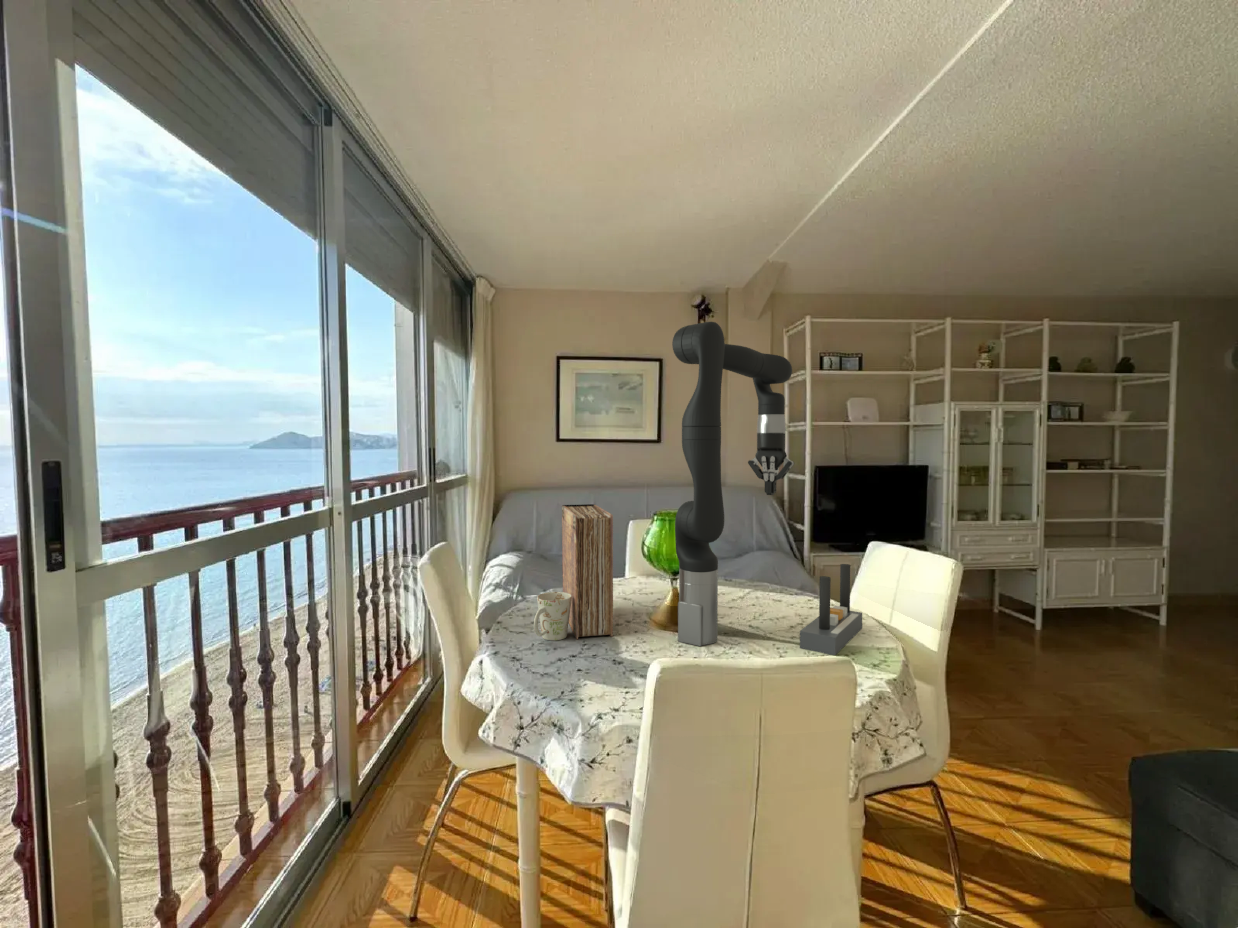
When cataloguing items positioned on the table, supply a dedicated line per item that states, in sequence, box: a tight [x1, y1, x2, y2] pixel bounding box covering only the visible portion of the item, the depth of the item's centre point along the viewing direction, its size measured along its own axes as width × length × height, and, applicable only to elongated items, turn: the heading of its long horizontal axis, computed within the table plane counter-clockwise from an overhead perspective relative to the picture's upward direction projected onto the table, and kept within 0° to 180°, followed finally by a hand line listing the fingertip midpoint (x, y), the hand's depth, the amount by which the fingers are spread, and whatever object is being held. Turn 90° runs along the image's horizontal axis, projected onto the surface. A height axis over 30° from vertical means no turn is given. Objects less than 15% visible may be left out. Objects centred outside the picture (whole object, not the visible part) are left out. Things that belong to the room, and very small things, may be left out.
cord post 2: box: [839, 563, 851, 613], centre depth 153 cm, size 2×2×12 cm
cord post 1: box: [818, 575, 832, 630], centre depth 139 cm, size 2×2×12 cm
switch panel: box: [799, 605, 863, 656], centre depth 144 cm, size 24×8×6 cm, turn 144°
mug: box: [533, 591, 571, 641], centre depth 143 cm, size 8×13×10 cm, turn 155°
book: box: [561, 503, 614, 641], centre depth 156 cm, size 25×9×30 cm, turn 13°
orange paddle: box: [830, 607, 843, 620], centre depth 146 cm, size 2×3×2 cm
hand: (770, 494), depth 163 cm, fingers closed
